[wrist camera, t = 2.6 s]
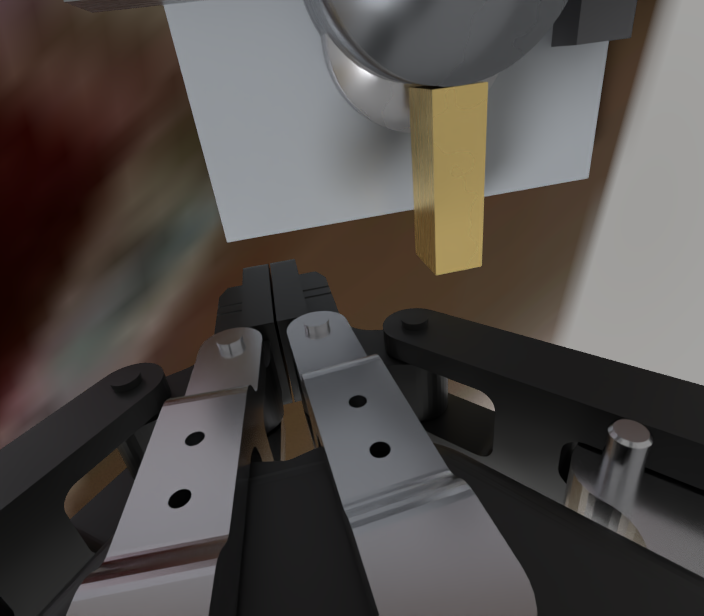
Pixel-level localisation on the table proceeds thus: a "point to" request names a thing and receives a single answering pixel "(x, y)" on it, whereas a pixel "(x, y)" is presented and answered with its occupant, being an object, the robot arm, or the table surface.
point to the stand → (355, 130)
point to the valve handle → (424, 93)
